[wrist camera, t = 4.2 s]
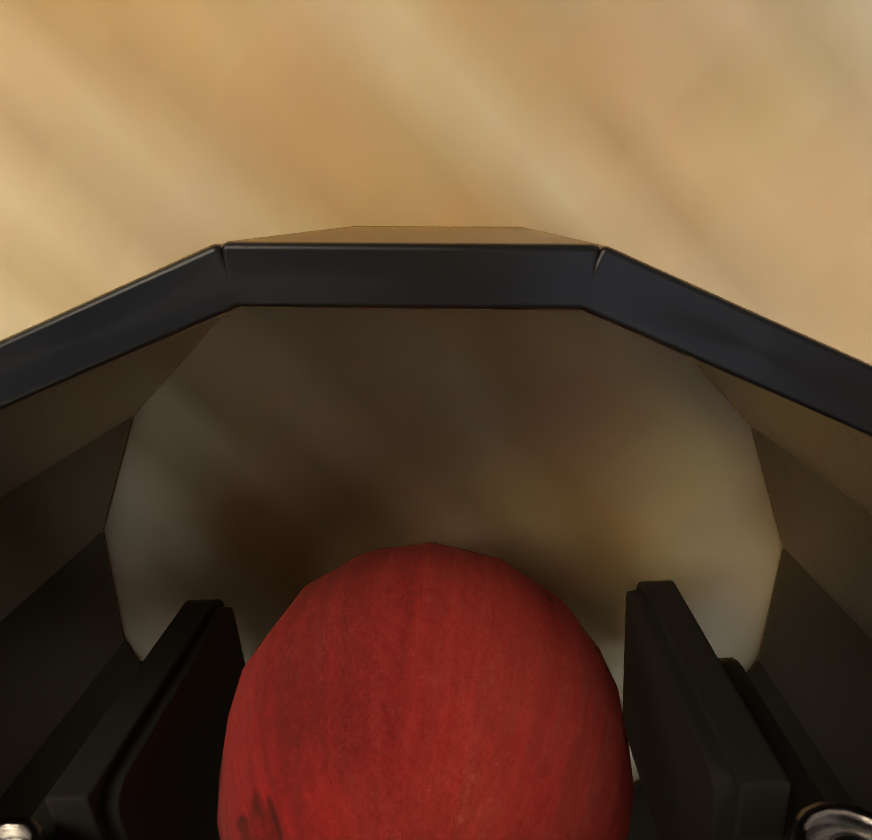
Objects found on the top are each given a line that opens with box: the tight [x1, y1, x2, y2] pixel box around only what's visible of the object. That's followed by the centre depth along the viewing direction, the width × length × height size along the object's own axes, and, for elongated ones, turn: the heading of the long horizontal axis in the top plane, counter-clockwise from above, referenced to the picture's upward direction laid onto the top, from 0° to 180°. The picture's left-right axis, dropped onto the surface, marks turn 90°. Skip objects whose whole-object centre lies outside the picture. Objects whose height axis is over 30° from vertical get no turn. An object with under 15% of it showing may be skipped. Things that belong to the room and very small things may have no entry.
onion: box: [217, 543, 635, 840], centre depth 9 cm, size 6×6×8 cm
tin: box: [0, 226, 872, 840], centre depth 10 cm, size 15×15×6 cm
